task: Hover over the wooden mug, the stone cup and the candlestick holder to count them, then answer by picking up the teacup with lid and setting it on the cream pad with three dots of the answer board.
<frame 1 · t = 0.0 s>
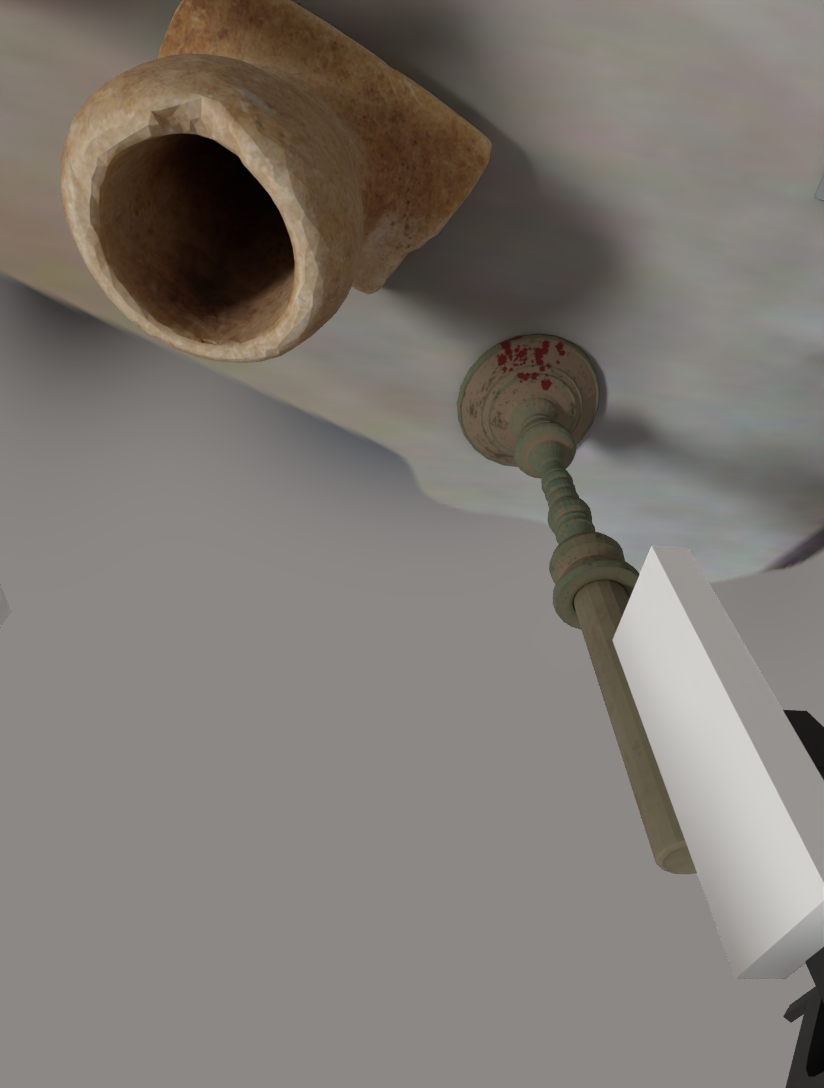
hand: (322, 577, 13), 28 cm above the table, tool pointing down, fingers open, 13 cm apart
candlestick holder: (526, 401, 41), on the table
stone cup: (307, 167, 33), on the table
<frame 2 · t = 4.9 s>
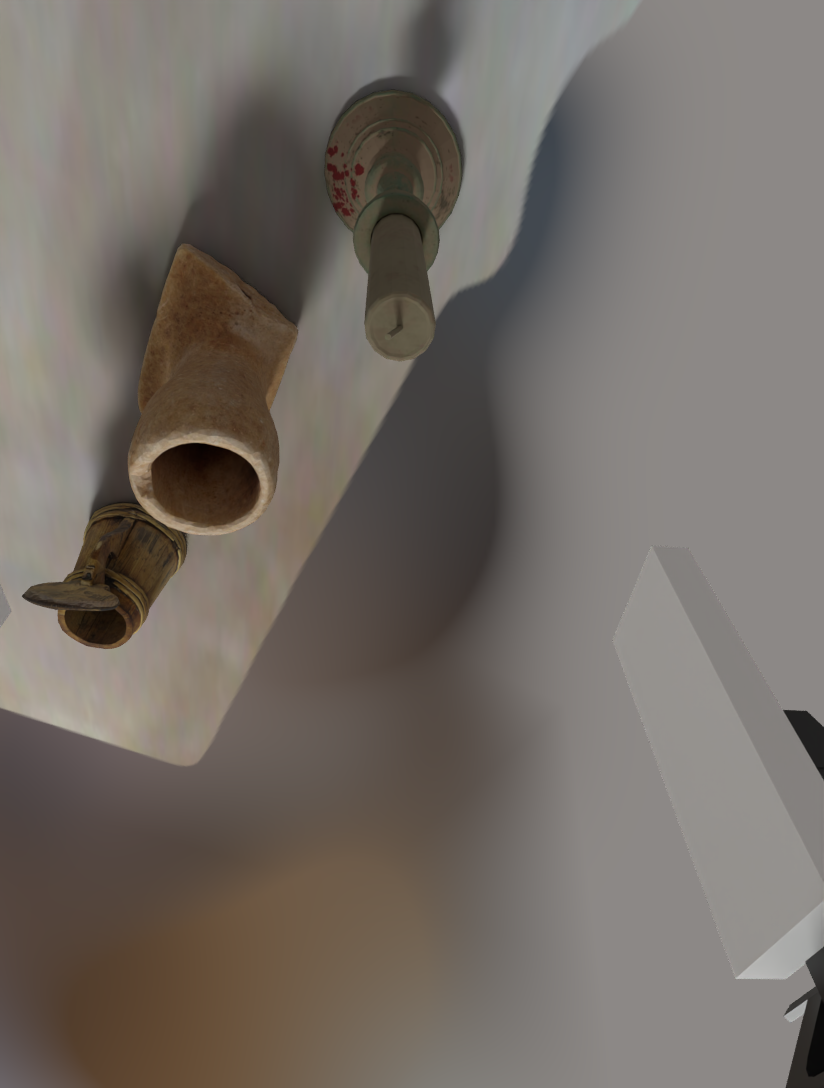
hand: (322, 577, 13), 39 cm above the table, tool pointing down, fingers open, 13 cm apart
candlestick holder: (393, 173, 42), on the table
wooden mug: (139, 520, 59), on the table
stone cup: (231, 362, 50), on the table
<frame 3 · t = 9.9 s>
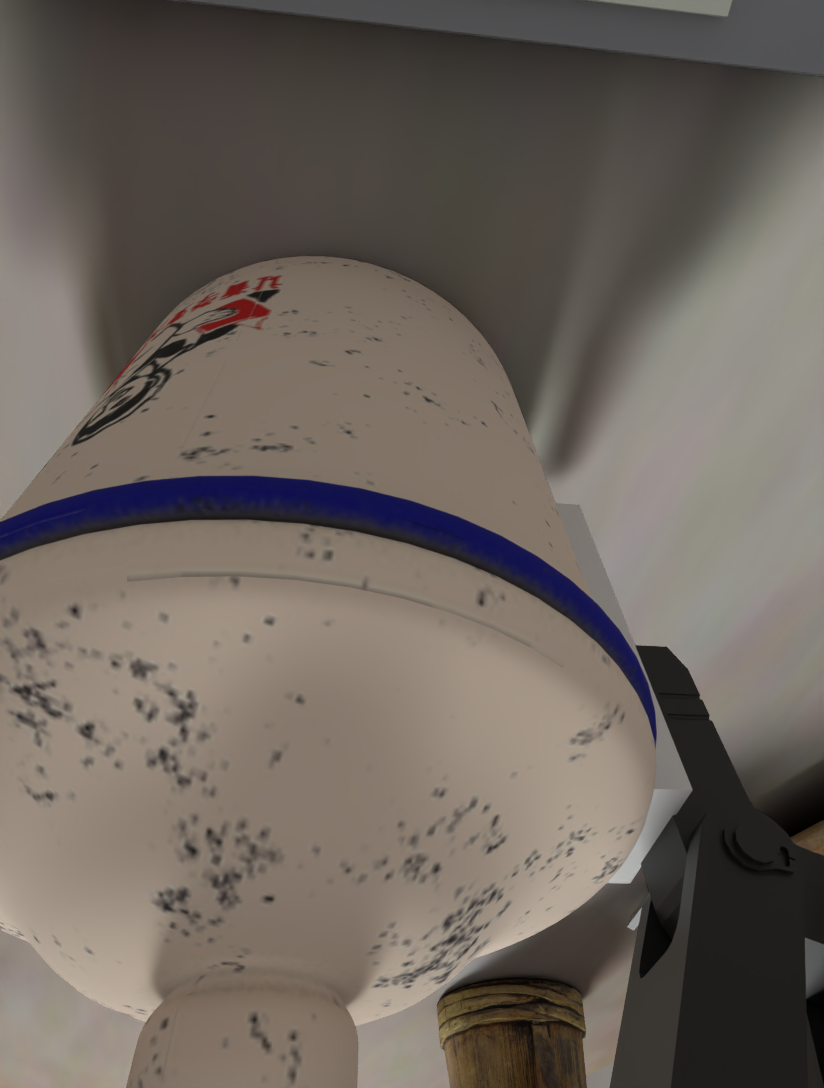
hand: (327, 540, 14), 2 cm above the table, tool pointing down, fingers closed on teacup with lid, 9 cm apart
teacup with lid: (303, 492, 15), on the table, touching gripper
wooden mug: (521, 986, 37), on the table
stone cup: (810, 855, 28), on the table
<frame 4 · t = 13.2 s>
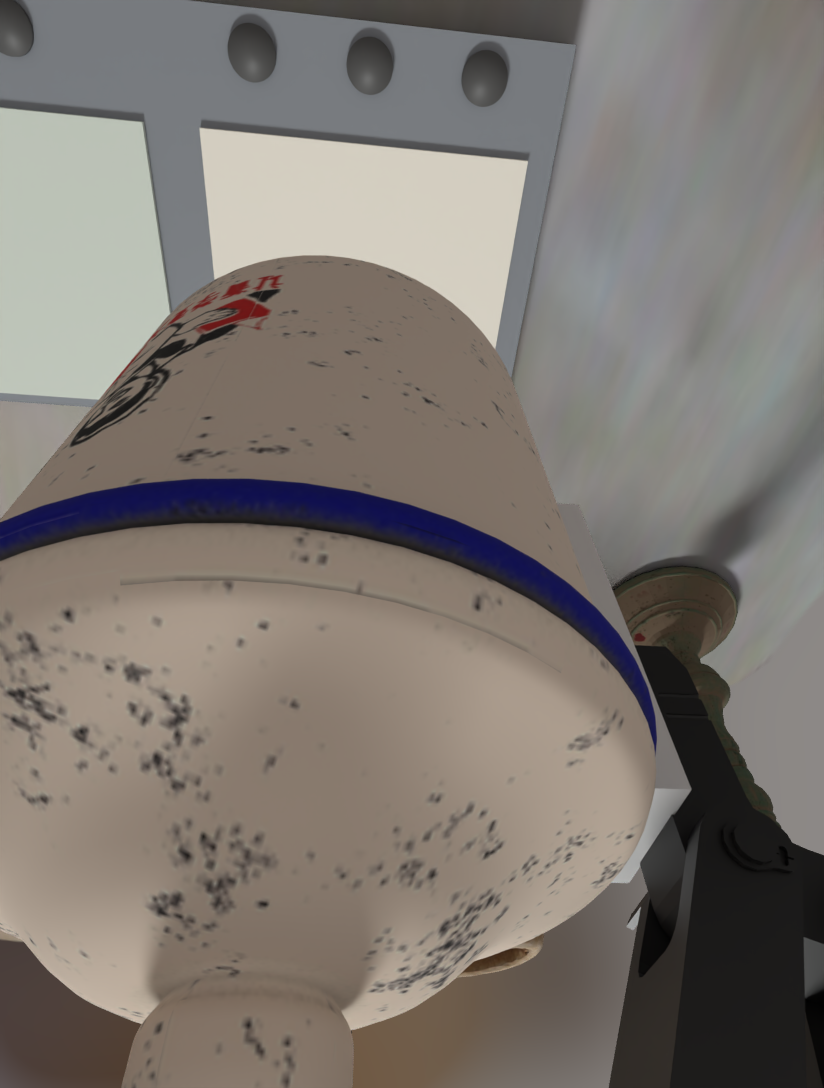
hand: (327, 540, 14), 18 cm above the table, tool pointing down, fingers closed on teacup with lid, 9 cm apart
answer board: (194, 236, 26), on the table
teacup with lid: (305, 491, 15), point 16 cm above the table, touching gripper
candlestick holder: (660, 616, 41), on the table
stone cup: (449, 738, 49), on the table
when the fingers open (4 cm above the table, at t = 16.2 s): teacup with lid drops 1 cm, resting on answer board.
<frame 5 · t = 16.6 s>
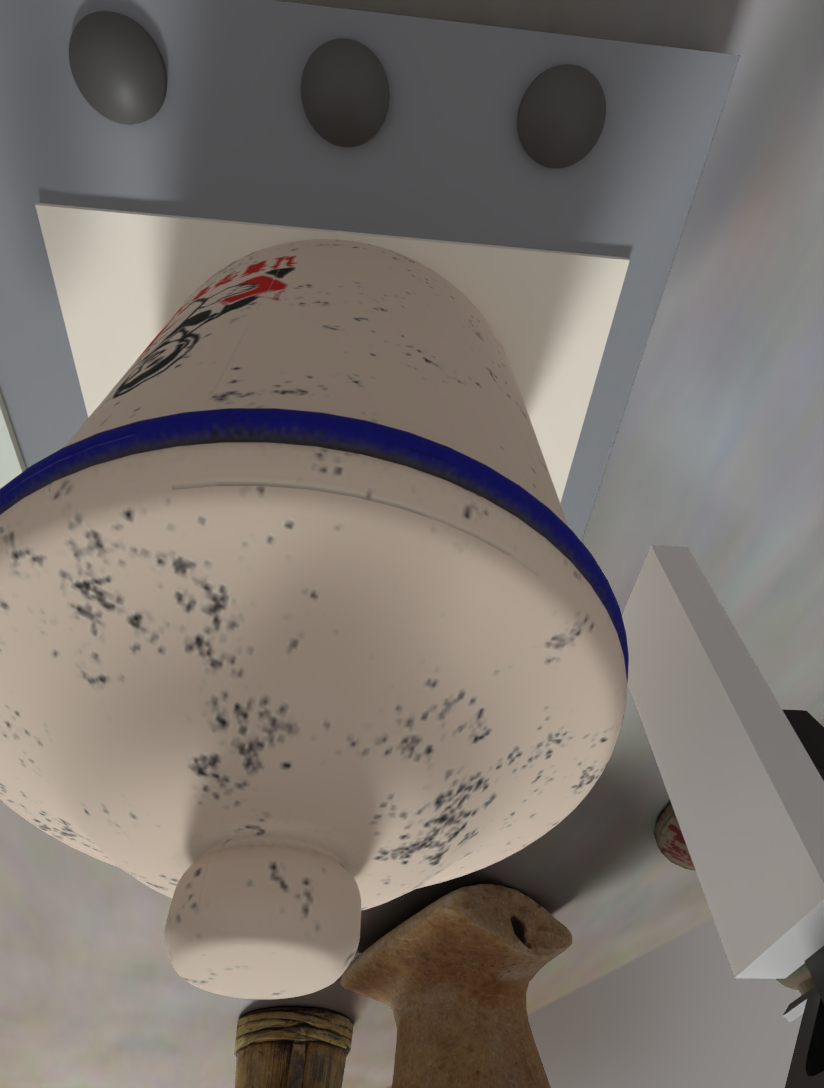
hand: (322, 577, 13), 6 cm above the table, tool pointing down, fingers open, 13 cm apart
answer board: (62, 367, 16), on the table
teacup with lid: (314, 465, 16), point 1 cm above the table, touching answer board
candlestick holder: (747, 812, 31), on the table
wooden mug: (301, 1011, 48), on the table
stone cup: (462, 926, 38), on the table
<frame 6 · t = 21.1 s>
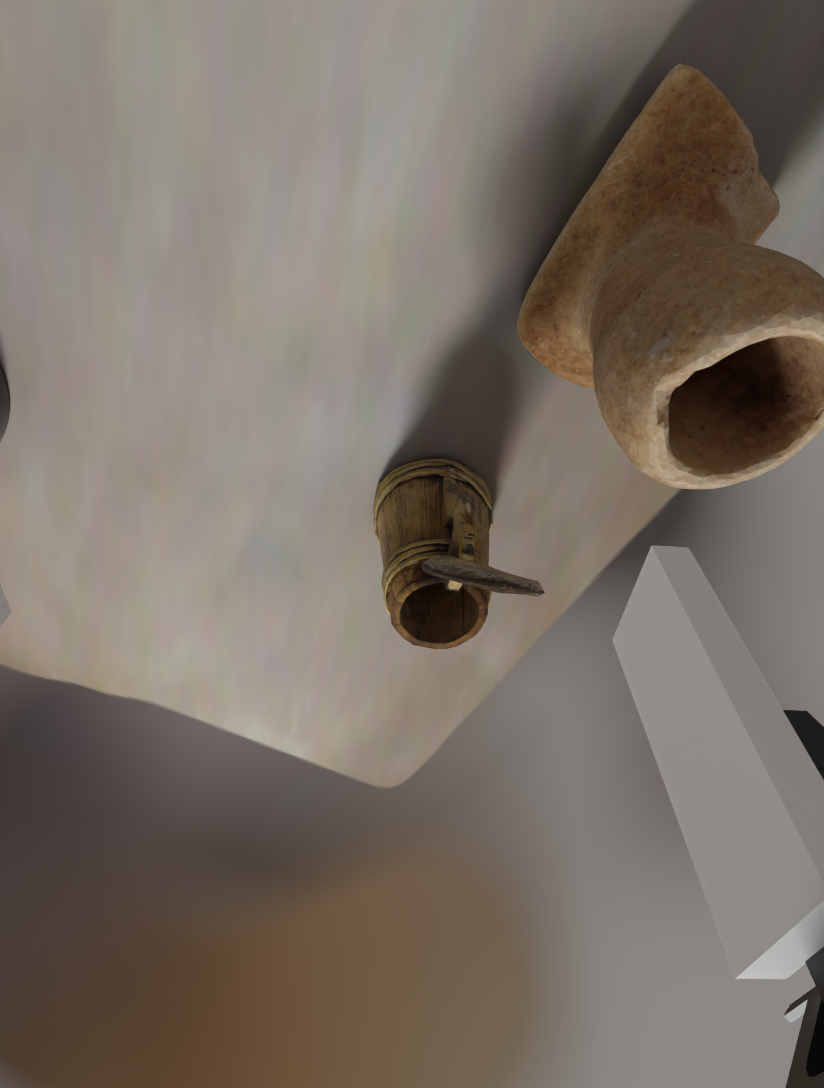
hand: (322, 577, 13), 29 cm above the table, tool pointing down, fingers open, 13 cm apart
wooden mug: (441, 483, 46), on the table
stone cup: (644, 262, 37), on the table
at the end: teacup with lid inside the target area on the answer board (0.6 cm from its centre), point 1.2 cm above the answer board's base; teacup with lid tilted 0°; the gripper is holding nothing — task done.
